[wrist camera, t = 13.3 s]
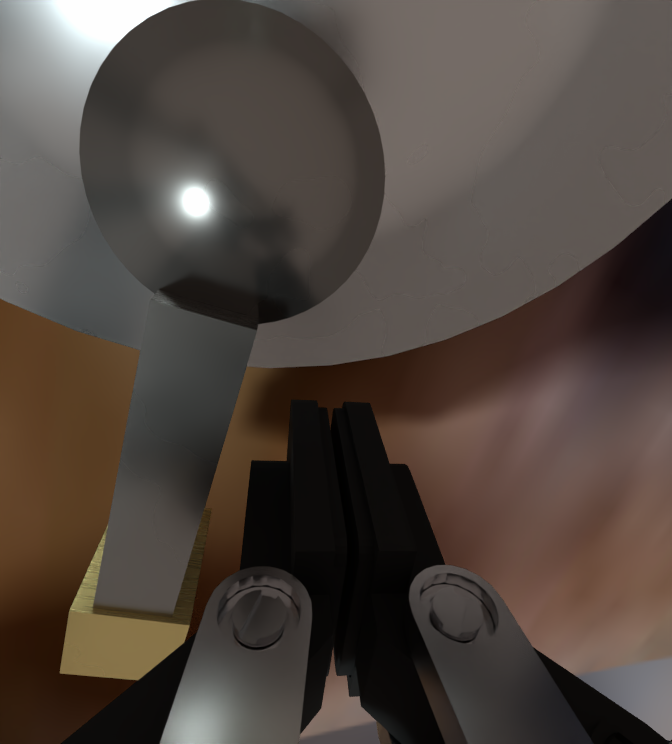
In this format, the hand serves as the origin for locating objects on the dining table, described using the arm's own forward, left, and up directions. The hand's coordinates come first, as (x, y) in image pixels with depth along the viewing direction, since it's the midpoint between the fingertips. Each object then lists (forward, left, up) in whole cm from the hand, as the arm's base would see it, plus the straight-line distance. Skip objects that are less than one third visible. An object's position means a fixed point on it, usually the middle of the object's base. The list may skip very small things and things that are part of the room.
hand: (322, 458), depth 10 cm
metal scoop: (-3, 0, 0) cm, 3 cm away
